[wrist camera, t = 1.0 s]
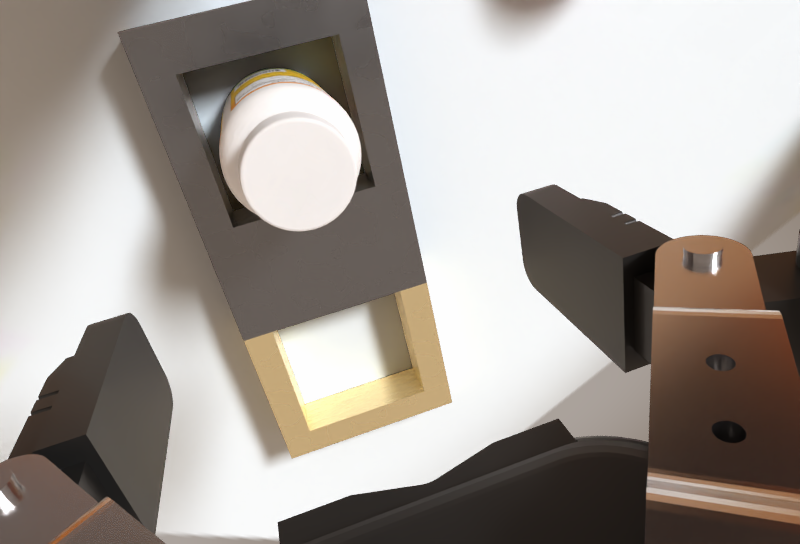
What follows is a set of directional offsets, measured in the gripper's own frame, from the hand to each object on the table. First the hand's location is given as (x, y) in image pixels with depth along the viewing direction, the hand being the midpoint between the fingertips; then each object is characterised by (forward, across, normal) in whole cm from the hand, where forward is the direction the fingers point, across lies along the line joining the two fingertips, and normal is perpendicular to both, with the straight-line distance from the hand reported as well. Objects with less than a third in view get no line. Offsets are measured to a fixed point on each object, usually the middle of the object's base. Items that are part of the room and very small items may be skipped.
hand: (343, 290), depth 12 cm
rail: (+18, 0, +6) cm, 19 cm away
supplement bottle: (+19, 0, 0) cm, 19 cm away
